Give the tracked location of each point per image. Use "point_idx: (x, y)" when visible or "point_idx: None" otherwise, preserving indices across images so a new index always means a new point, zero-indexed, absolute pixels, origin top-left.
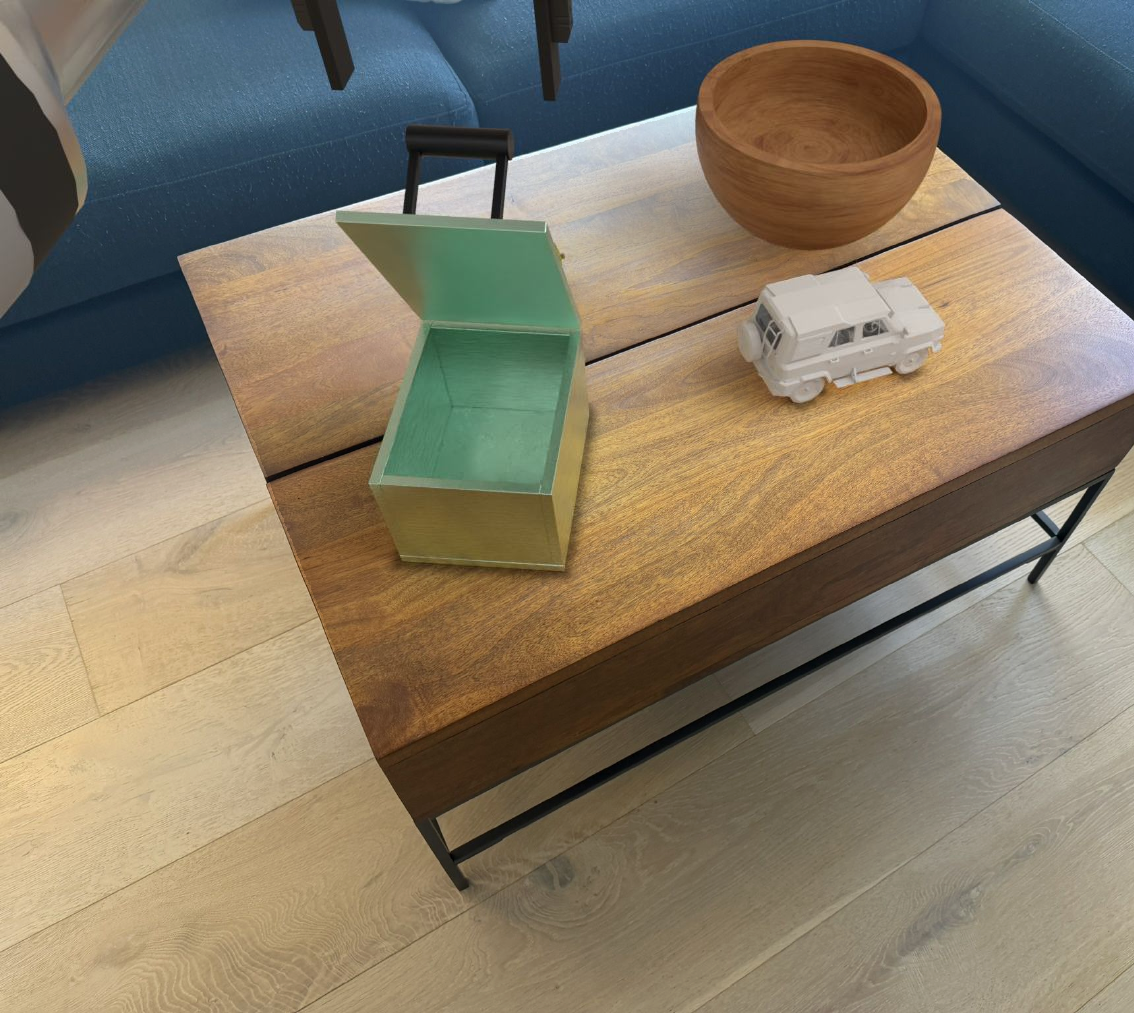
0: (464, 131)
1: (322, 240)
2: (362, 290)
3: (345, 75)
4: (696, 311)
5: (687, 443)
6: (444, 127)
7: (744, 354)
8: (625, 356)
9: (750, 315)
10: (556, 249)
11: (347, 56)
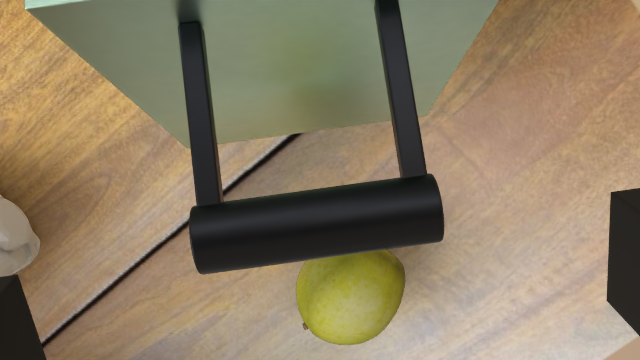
0: (299, 232)
1: None
2: (557, 239)
3: (620, 241)
4: (130, 294)
5: (71, 77)
6: (351, 236)
7: (14, 208)
8: (195, 202)
9: (15, 266)
10: (306, 321)
11: (633, 301)
